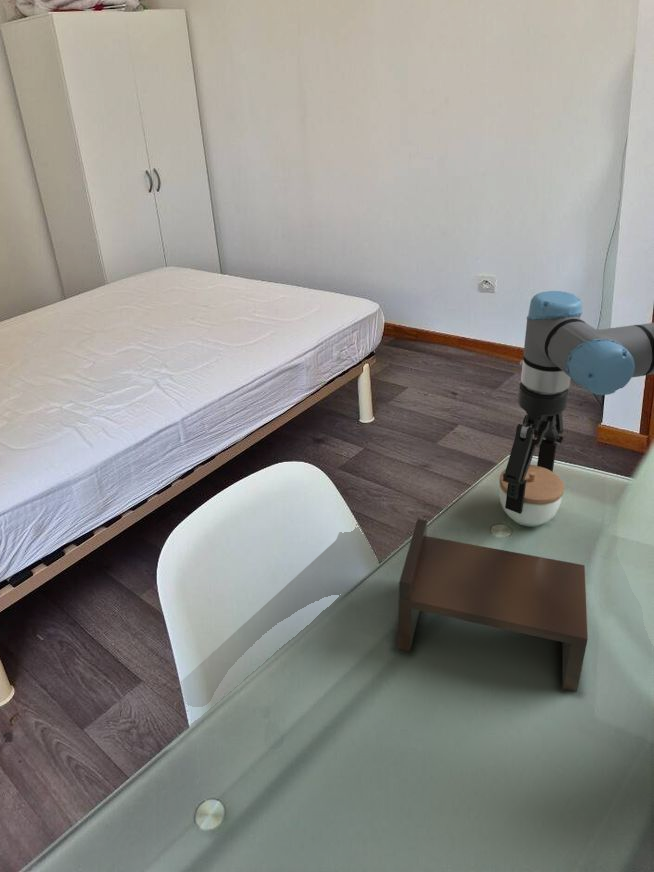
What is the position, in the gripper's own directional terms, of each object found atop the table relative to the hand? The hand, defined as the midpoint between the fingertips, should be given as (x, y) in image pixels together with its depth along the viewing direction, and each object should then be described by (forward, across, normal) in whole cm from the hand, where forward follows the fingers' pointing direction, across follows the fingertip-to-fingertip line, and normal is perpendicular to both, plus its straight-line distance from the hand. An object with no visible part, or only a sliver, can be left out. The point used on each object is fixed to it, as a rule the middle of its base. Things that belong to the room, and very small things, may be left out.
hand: (529, 490), depth 122 cm
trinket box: (+6, 0, 0) cm, 6 cm away
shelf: (+5, +29, +6) cm, 30 cm away
